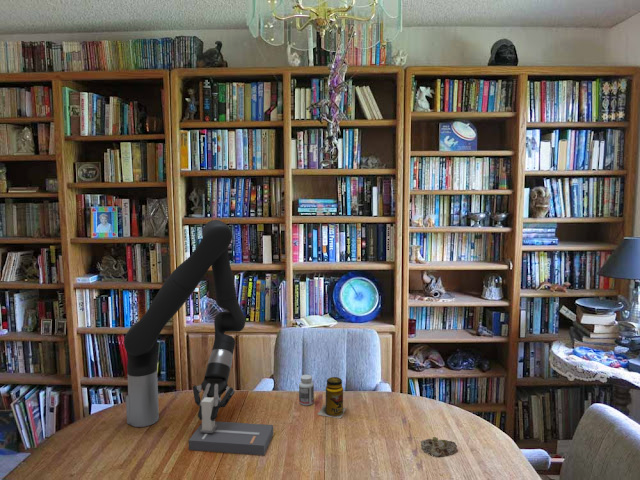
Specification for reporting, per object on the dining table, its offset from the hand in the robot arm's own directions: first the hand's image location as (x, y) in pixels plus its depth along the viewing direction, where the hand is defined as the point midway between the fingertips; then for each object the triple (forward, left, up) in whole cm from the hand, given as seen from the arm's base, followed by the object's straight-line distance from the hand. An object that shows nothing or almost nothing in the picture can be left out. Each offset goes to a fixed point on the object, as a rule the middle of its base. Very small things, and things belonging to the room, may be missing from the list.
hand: (206, 419), depth 142 cm
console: (+7, +2, -7) cm, 11 cm away
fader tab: (0, +2, -4) cm, 4 cm away
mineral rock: (+70, +5, -8) cm, 71 cm away
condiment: (+36, +25, -8) cm, 44 cm away
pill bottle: (+26, +31, -8) cm, 41 cm away
